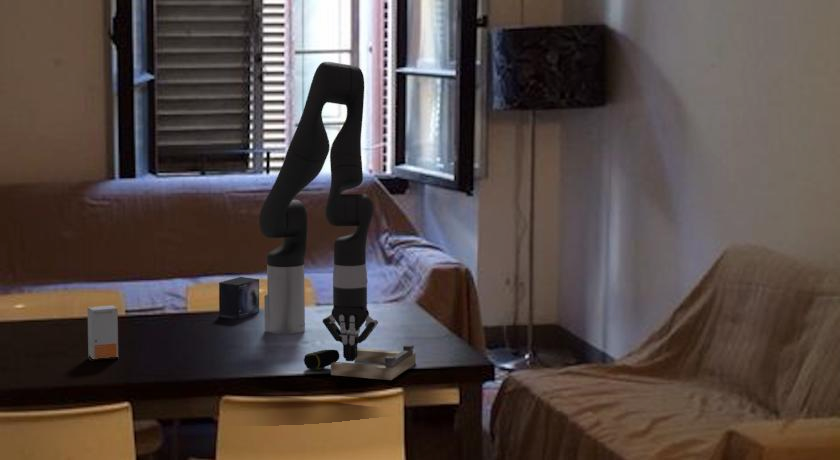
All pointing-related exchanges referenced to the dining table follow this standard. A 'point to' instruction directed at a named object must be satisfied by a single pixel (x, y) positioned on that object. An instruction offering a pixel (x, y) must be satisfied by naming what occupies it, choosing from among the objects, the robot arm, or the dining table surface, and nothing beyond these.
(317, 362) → the tape measure
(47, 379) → the dining table surface
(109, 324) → the skincare box
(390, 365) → the tan piece
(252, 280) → the small box
